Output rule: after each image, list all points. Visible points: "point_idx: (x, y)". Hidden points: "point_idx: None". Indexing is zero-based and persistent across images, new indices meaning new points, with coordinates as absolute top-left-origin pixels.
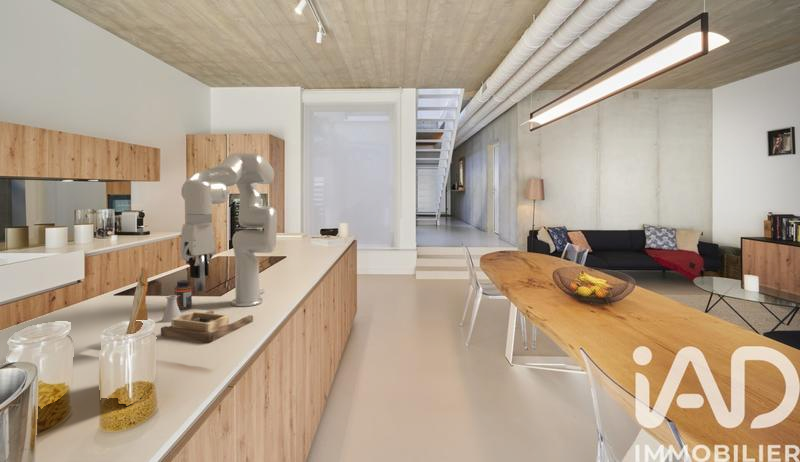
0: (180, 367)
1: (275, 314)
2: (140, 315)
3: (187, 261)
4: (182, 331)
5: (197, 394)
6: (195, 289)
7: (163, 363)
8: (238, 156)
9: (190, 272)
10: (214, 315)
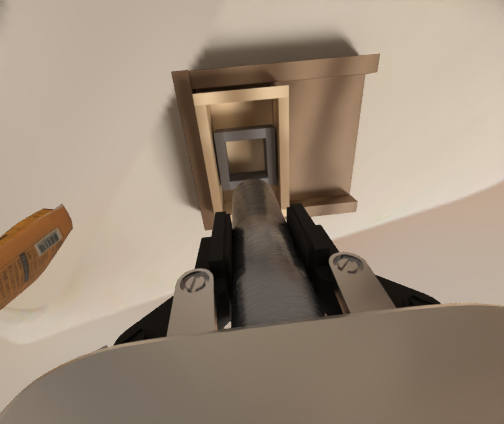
0: (126, 236)
1: (430, 193)
2: None
3: (138, 331)
4: (189, 156)
5: (99, 308)
6: (232, 199)
7: (115, 199)
8: None
9: (213, 227)
10: (280, 180)
